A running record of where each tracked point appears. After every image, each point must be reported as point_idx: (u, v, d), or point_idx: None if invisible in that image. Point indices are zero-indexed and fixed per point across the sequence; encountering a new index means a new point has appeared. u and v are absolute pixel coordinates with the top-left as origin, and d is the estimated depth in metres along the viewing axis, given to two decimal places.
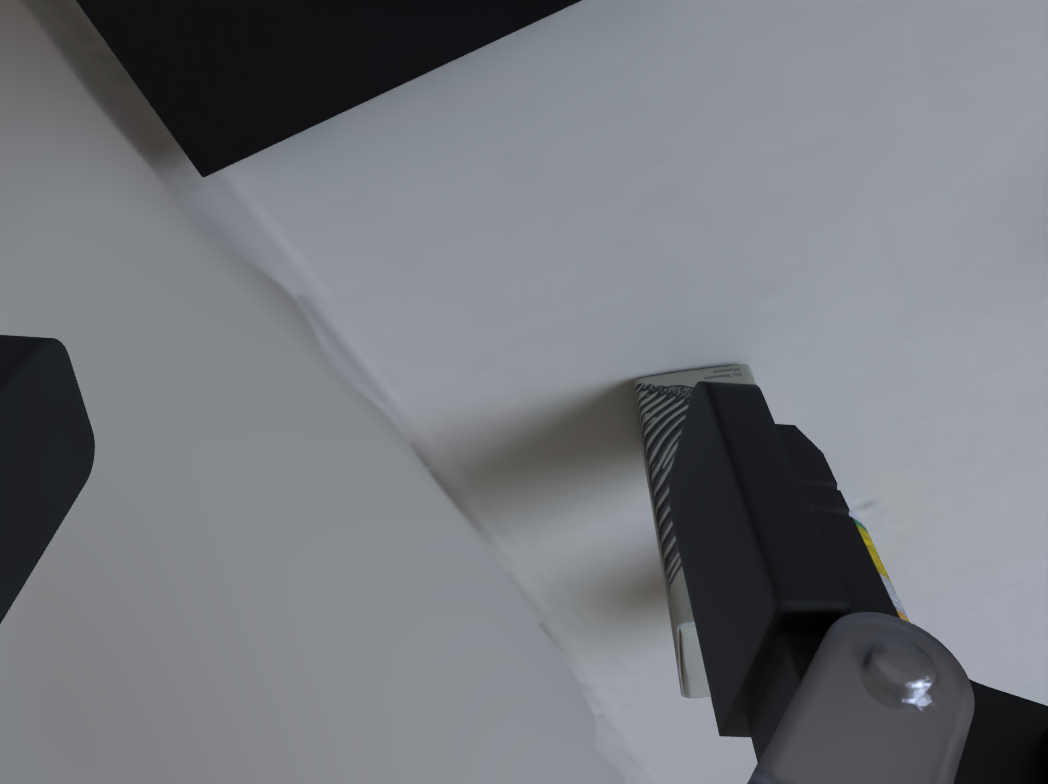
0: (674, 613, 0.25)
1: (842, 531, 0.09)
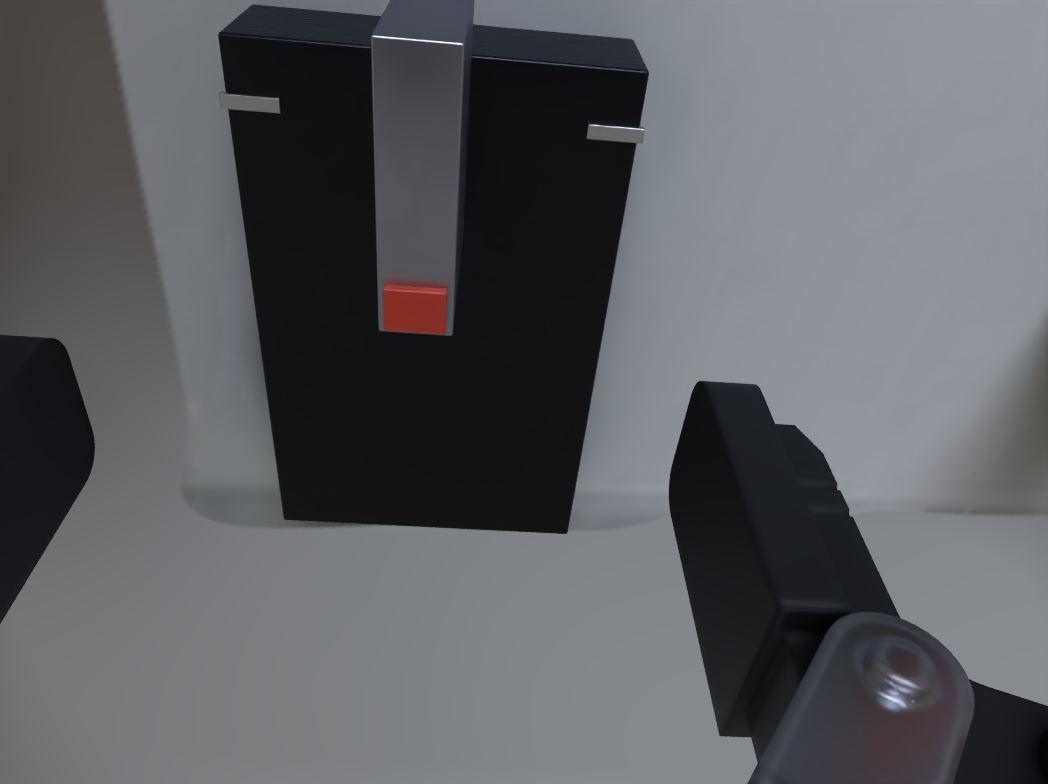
0: None
1: (842, 531, 0.09)
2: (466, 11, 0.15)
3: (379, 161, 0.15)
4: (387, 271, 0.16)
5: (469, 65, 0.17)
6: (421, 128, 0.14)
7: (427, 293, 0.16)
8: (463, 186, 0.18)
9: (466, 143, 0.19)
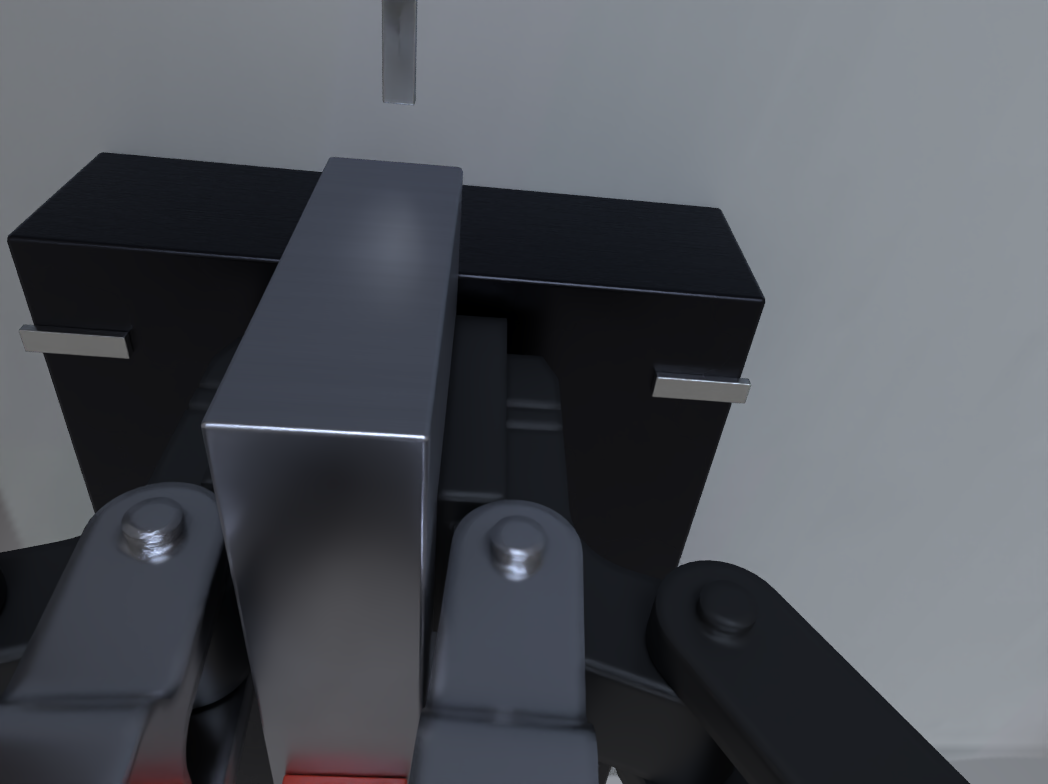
0: None
1: (548, 443, 0.09)
2: (442, 273, 0.07)
3: (250, 623, 0.07)
4: (288, 759, 0.08)
5: (452, 324, 0.09)
6: (338, 574, 0.06)
7: None
8: None
9: None
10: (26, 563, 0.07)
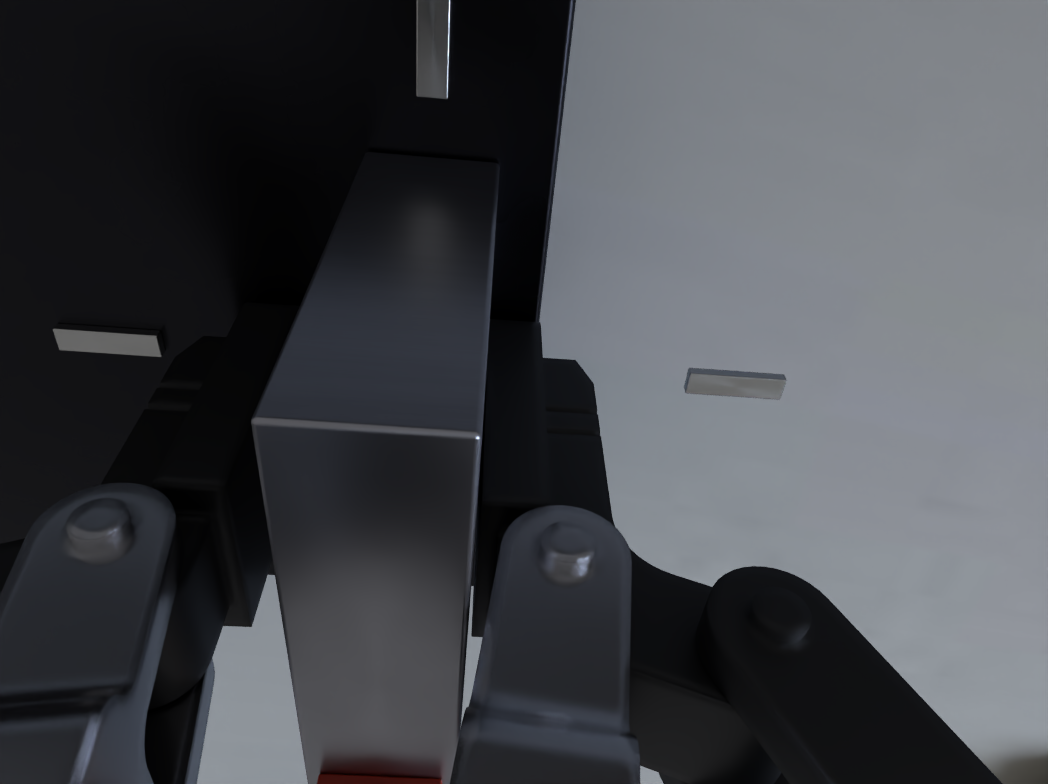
0: None
1: (587, 448, 0.09)
2: (485, 269, 0.07)
3: (292, 621, 0.07)
4: (323, 758, 0.08)
5: None
6: (382, 572, 0.06)
7: None
8: None
9: None
10: None
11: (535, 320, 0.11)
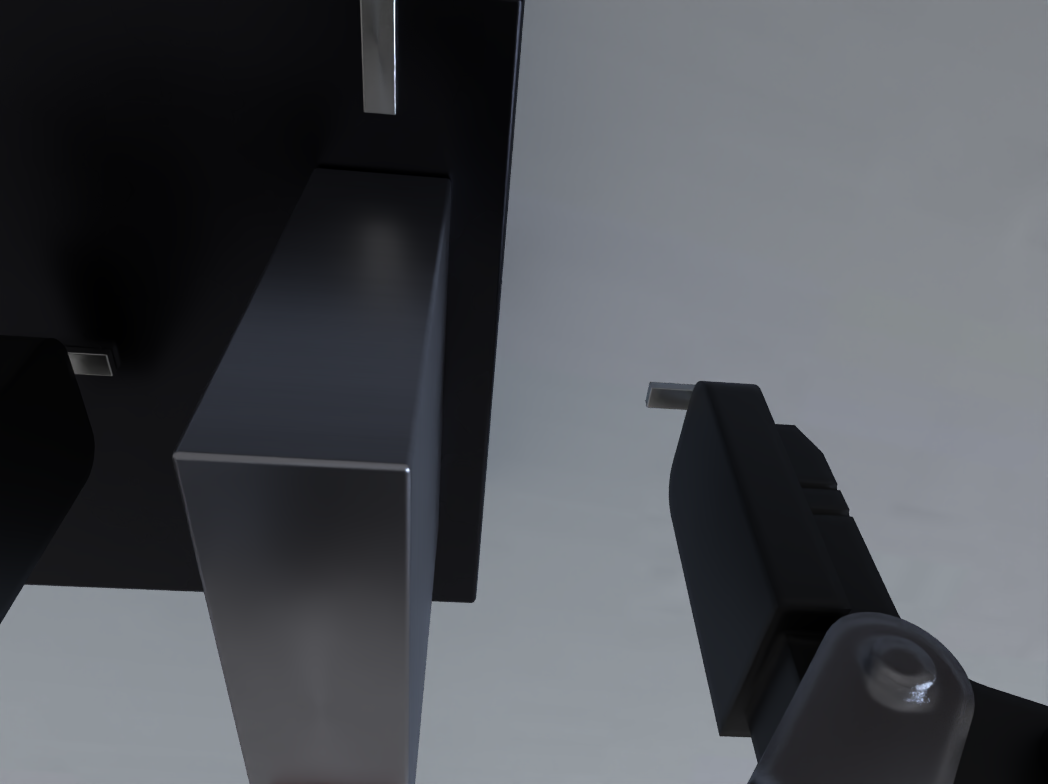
0: None
1: (842, 531, 0.09)
2: (428, 291, 0.07)
3: (229, 655, 0.07)
4: None
5: (440, 340, 0.09)
6: (318, 605, 0.06)
7: None
8: (432, 526, 0.10)
9: (438, 439, 0.10)
10: None
11: (493, 336, 0.11)
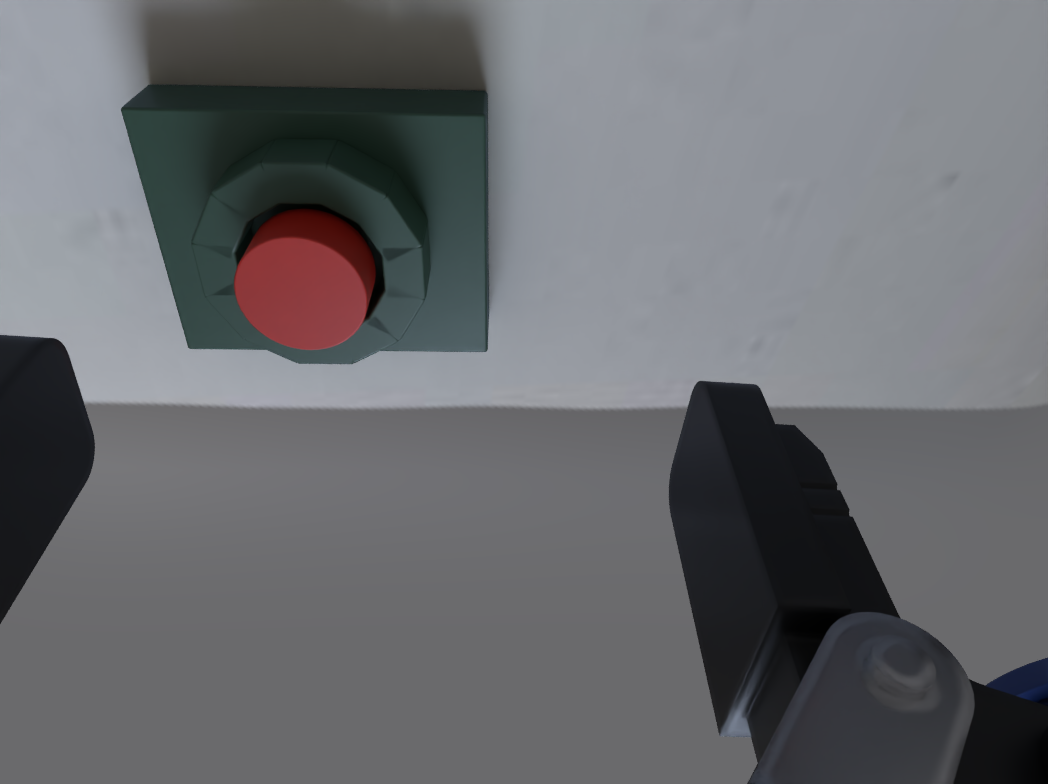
0: None
1: (842, 531, 0.09)
2: None
3: None
4: None
5: None
6: None
7: None
8: None
9: None
10: None
11: None
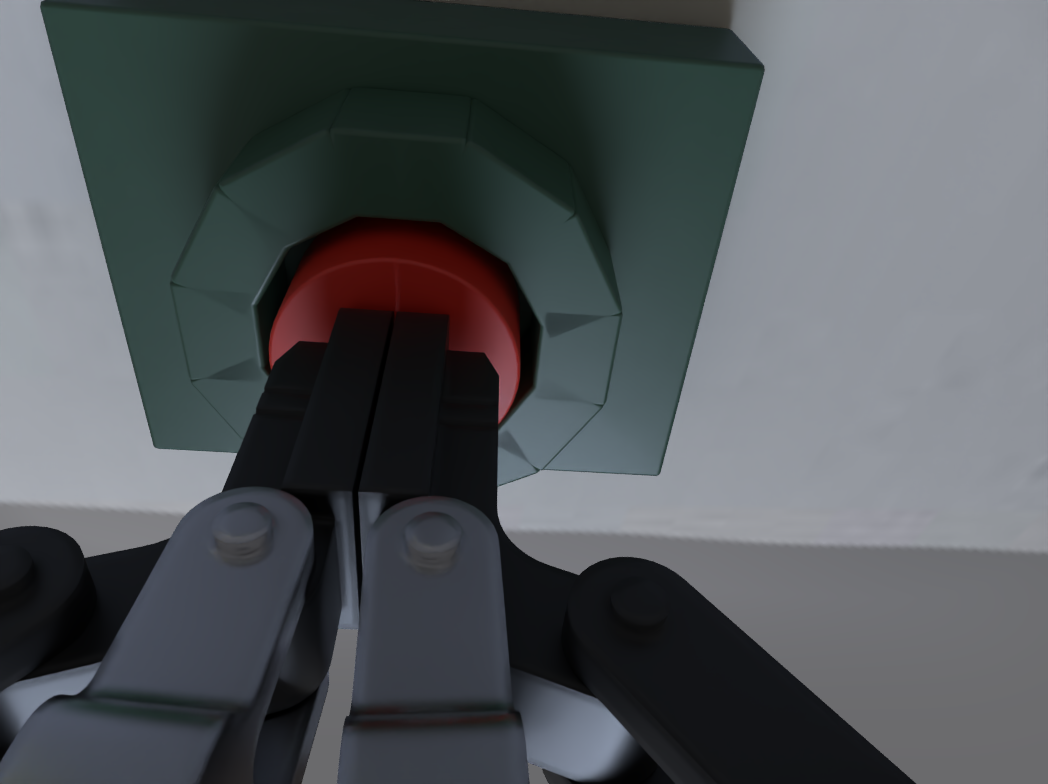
0: None
1: (482, 440, 0.09)
2: None
3: None
4: None
5: None
6: None
7: None
8: None
9: None
10: (114, 569, 0.07)
11: None
